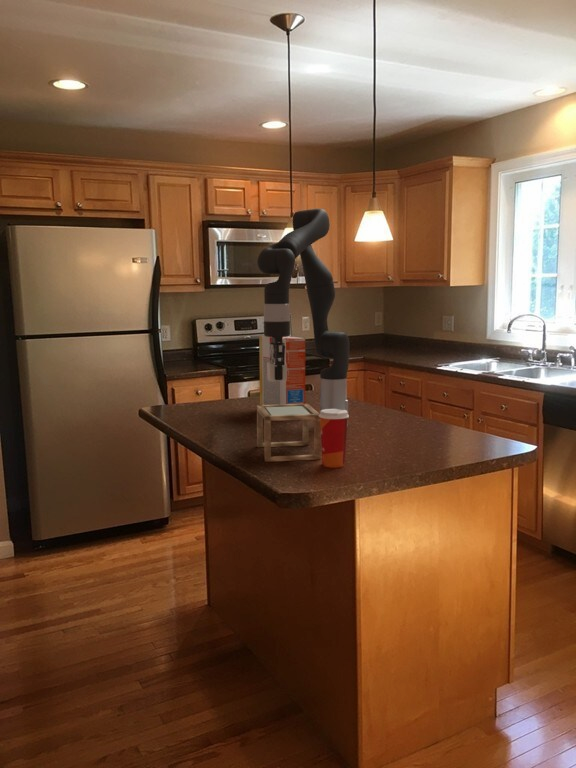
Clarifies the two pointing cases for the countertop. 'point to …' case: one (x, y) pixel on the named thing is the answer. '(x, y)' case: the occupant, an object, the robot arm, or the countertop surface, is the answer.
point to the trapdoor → (286, 410)
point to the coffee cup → (333, 437)
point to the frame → (268, 444)
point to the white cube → (272, 372)
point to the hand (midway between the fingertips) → (277, 378)
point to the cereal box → (295, 383)
